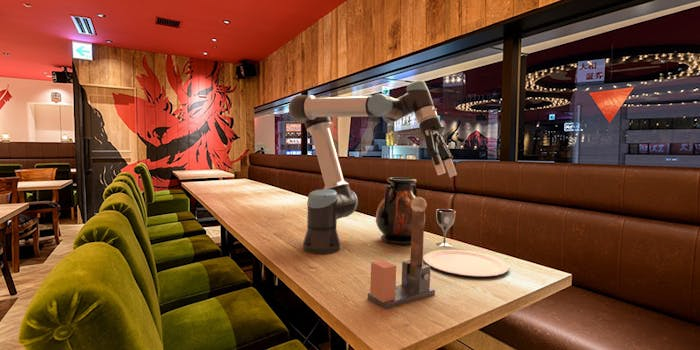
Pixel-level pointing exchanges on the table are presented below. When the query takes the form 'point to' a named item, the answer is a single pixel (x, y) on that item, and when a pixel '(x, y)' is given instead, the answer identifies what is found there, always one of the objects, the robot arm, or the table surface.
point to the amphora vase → (397, 211)
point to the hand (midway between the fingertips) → (447, 175)
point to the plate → (465, 263)
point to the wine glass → (445, 223)
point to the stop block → (383, 280)
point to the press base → (409, 287)
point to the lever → (417, 233)
